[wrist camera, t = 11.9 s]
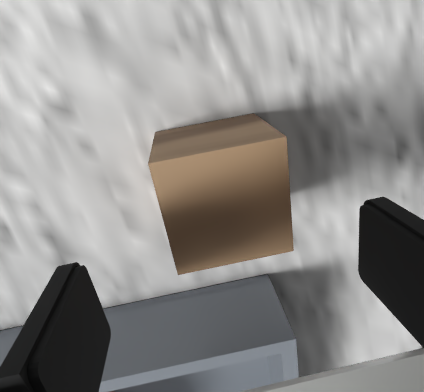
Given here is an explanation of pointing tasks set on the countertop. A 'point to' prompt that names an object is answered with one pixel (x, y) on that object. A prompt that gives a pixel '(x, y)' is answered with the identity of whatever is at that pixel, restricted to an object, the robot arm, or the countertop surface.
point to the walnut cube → (223, 191)
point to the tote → (197, 341)
